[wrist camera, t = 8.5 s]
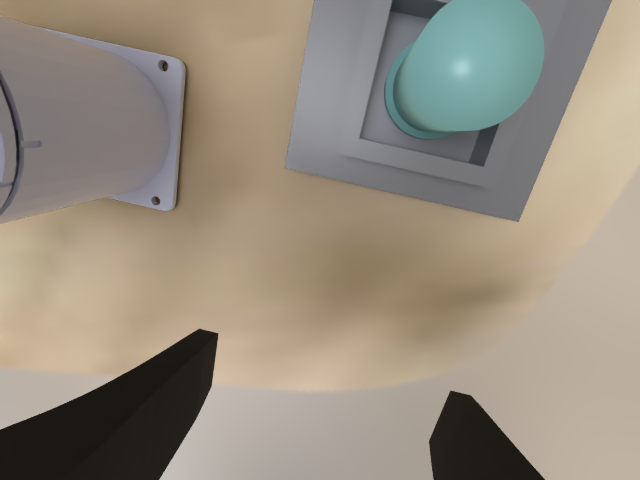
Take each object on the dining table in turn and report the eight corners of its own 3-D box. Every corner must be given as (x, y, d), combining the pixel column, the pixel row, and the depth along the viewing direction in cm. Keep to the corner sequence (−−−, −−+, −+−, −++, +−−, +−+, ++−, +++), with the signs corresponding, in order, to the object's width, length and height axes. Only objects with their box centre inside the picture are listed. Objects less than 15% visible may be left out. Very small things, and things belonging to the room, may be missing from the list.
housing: (289, 165, 18) (275, 172, 15) (362, -243, 13) (364, -358, 10) (507, 216, 18) (539, 233, 15) (671, -184, 13) (771, -284, 10)
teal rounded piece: (373, 127, 16) (384, 124, 10) (398, 29, 15) (426, -39, 9) (460, 147, 16) (519, 154, 10) (493, 49, 14) (583, -6, 9)
